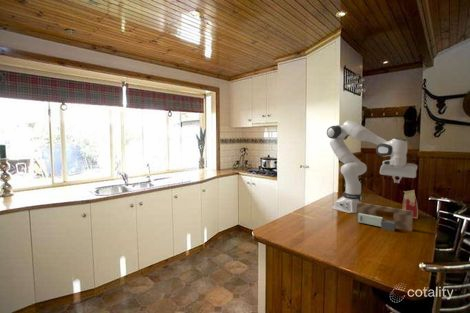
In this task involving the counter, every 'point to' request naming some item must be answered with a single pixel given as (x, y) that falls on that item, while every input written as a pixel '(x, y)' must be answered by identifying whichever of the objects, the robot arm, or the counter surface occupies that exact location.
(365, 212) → the wall frame
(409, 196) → the milk carton
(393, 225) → the block
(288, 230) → the counter surface
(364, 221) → the sliding door
